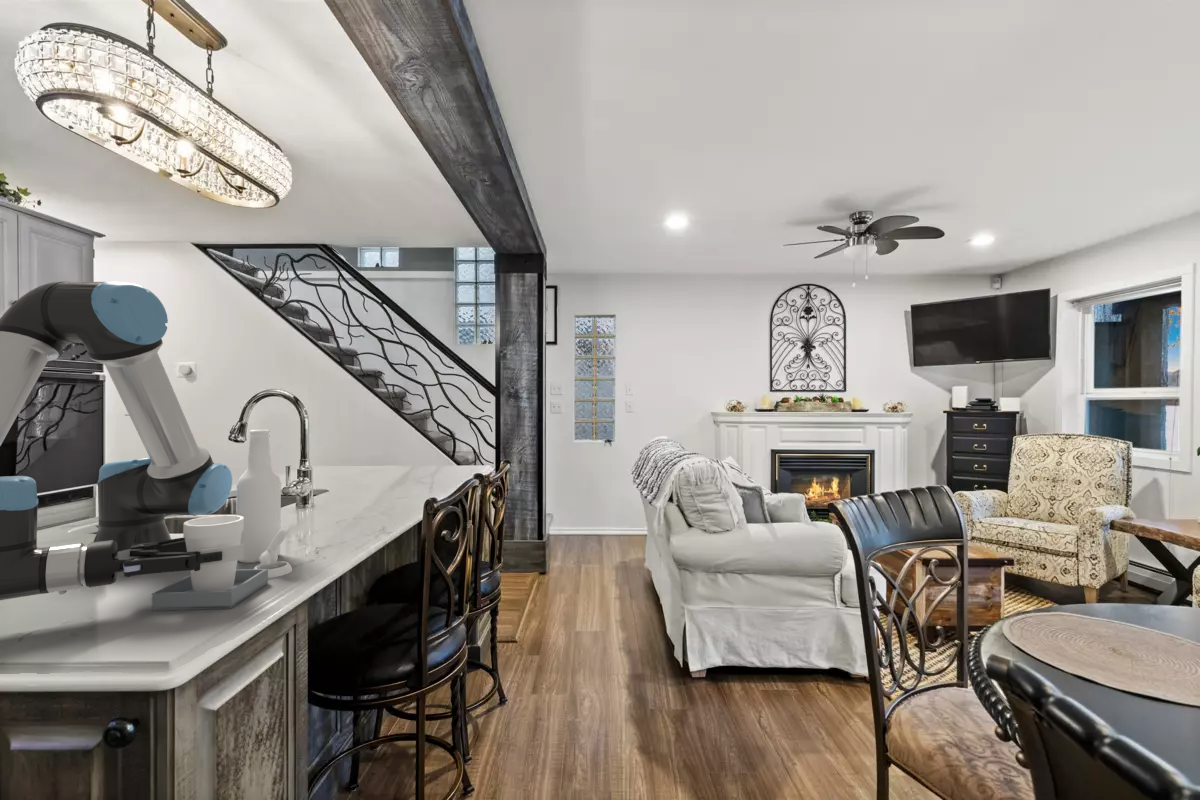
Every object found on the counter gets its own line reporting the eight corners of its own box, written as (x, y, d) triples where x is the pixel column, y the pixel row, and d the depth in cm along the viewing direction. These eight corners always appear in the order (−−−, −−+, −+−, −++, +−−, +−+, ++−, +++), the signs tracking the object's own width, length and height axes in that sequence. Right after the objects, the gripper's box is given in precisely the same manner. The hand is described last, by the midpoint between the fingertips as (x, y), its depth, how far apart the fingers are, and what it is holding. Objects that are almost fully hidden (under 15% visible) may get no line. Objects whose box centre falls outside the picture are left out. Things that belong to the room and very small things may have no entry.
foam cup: (252, 586, 106) (253, 519, 106) (197, 601, 98) (197, 528, 98) (228, 577, 111) (229, 513, 111) (174, 590, 104) (174, 521, 103)
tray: (198, 585, 111) (198, 570, 111) (267, 583, 112) (267, 568, 112) (152, 610, 98) (152, 593, 98) (231, 608, 99) (231, 591, 99)
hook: (300, 554, 115) (270, 537, 114) (271, 597, 117) (240, 580, 115) (316, 537, 122) (287, 521, 121) (287, 578, 124) (259, 562, 123)
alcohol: (231, 565, 124) (232, 431, 123) (241, 554, 132) (241, 429, 132) (276, 561, 127) (277, 430, 127) (283, 551, 135) (284, 428, 135)
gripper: (95, 570, 103) (238, 551, 116) (73, 607, 85) (245, 580, 99) (95, 530, 103) (238, 516, 116) (74, 559, 85) (246, 538, 99)
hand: (242, 545), depth 107 cm, fingers closed on foam cup, 9 cm apart
